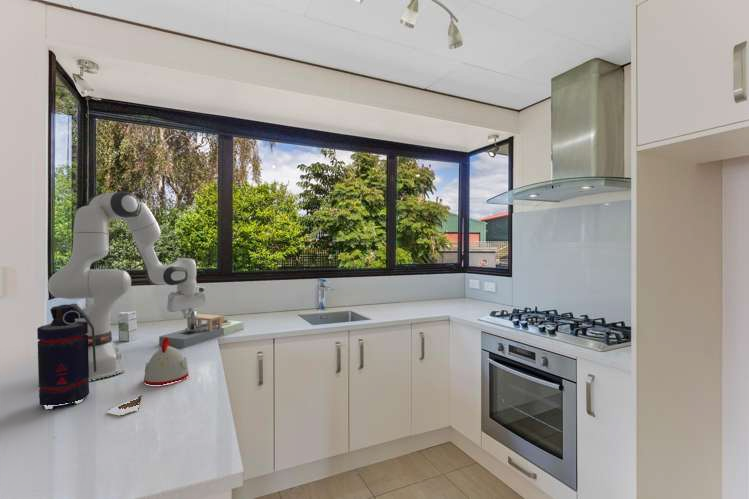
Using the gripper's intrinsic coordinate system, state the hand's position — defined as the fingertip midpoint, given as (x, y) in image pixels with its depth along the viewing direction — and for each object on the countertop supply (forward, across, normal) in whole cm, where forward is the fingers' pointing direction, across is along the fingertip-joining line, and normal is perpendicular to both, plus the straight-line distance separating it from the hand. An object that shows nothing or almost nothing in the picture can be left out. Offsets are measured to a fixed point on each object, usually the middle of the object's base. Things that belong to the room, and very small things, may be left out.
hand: (187, 317), depth 183 cm
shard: (+12, -62, -45) cm, 78 cm away
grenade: (+12, -65, -24) cm, 70 cm away
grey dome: (+12, -41, -36) cm, 55 cm away
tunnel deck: (+12, +11, 0) cm, 16 cm away
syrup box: (+12, -9, +30) cm, 34 cm away
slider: (+8, +13, 0) cm, 15 cm away
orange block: (+8, +19, 0) cm, 21 cm away
